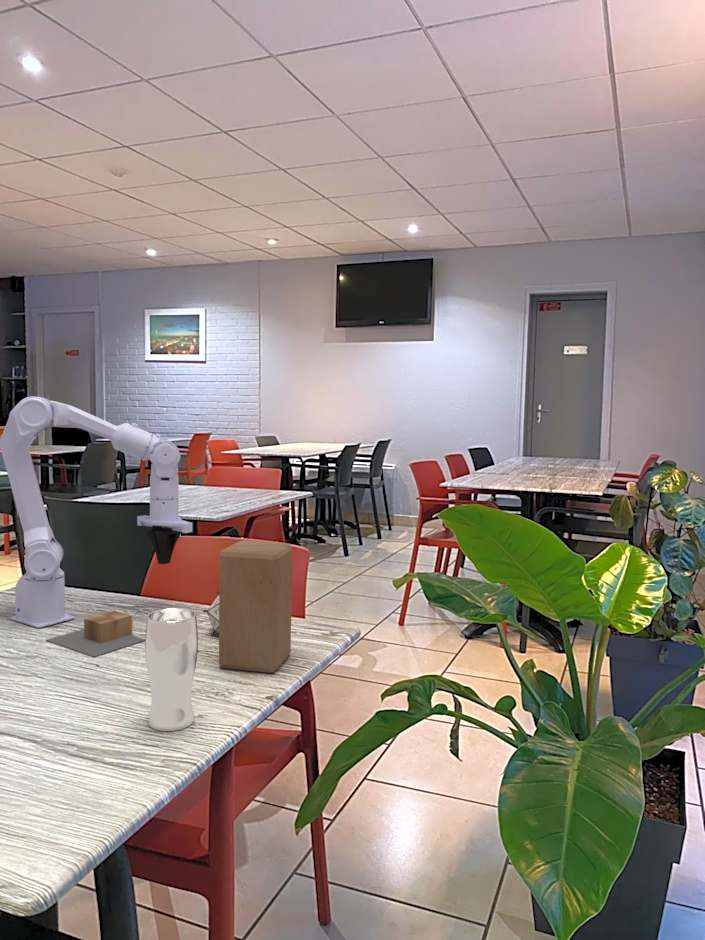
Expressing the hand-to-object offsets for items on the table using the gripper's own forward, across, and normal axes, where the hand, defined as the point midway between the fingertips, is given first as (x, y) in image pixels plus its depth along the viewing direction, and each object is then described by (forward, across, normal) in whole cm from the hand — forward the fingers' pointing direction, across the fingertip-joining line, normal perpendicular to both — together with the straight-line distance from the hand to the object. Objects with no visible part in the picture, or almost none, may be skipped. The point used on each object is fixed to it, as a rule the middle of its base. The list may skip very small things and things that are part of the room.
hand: (164, 563), depth 145 cm
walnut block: (+8, -4, +13) cm, 16 cm away
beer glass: (+11, -40, +34) cm, 53 cm away
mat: (+10, -4, +20) cm, 22 cm away
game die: (+11, -20, +2) cm, 23 cm away
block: (+11, -34, +10) cm, 37 cm away
